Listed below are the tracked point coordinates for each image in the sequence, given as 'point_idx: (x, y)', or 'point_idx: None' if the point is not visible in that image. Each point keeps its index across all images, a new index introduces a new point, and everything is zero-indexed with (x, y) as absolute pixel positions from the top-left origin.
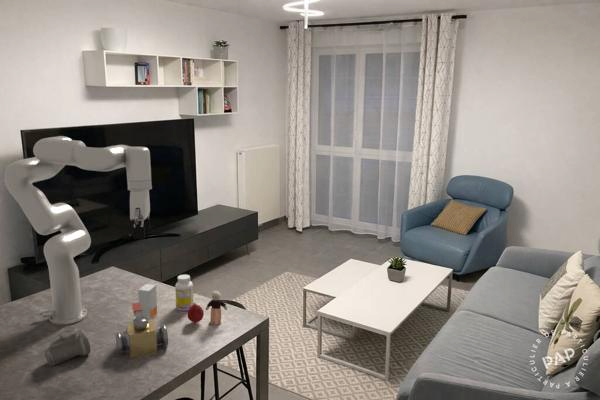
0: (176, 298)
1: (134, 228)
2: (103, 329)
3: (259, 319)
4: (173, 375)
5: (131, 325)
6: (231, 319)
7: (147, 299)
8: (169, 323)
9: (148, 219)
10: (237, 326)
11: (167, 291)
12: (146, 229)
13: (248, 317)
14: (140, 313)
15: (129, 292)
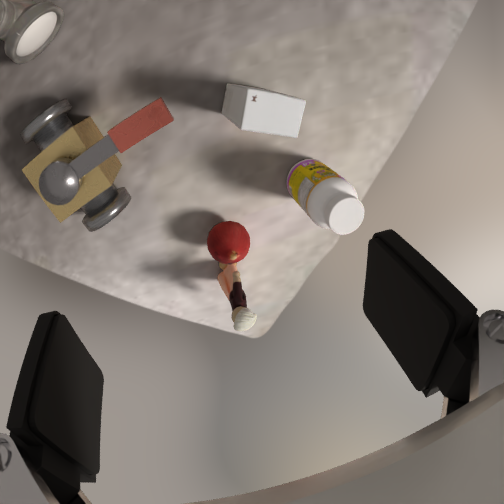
0: (306, 172)
1: (14, 417)
2: (165, 12)
3: (253, 335)
4: (25, 259)
5: (65, 145)
6: (249, 293)
7: (234, 119)
8: (216, 168)
9: (424, 389)
10: (220, 310)
11: (393, 112)
12: (367, 291)
13: (260, 317)
14: (99, 159)
15: (387, 17)
